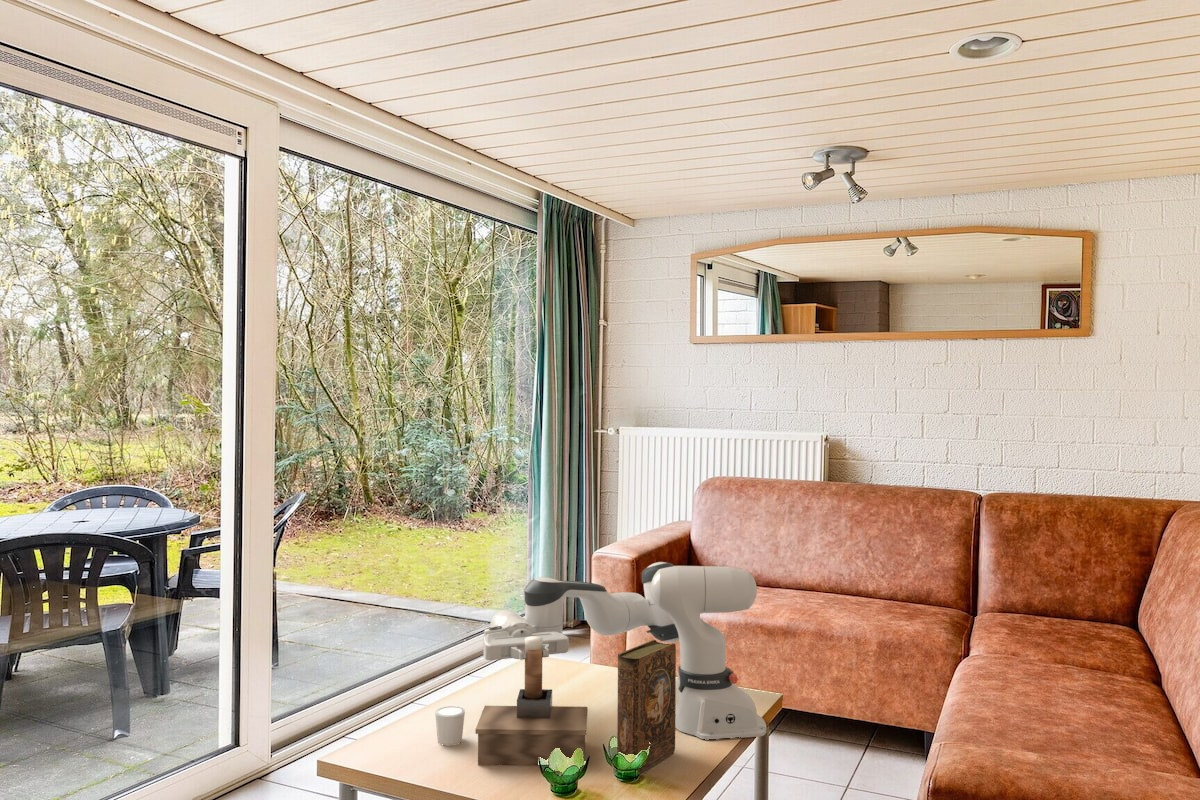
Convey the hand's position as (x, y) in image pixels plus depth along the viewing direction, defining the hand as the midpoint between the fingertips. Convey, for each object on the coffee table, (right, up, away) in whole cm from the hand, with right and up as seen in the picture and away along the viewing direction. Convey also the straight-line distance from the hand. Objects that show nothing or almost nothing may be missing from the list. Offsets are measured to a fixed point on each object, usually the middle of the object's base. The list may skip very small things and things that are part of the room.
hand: (534, 655), depth 197 cm
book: (+25, -22, -7) cm, 34 cm away
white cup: (-20, -21, +4) cm, 30 cm away
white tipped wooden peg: (0, -9, +1) cm, 10 cm away
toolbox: (0, -21, -2) cm, 22 cm away
